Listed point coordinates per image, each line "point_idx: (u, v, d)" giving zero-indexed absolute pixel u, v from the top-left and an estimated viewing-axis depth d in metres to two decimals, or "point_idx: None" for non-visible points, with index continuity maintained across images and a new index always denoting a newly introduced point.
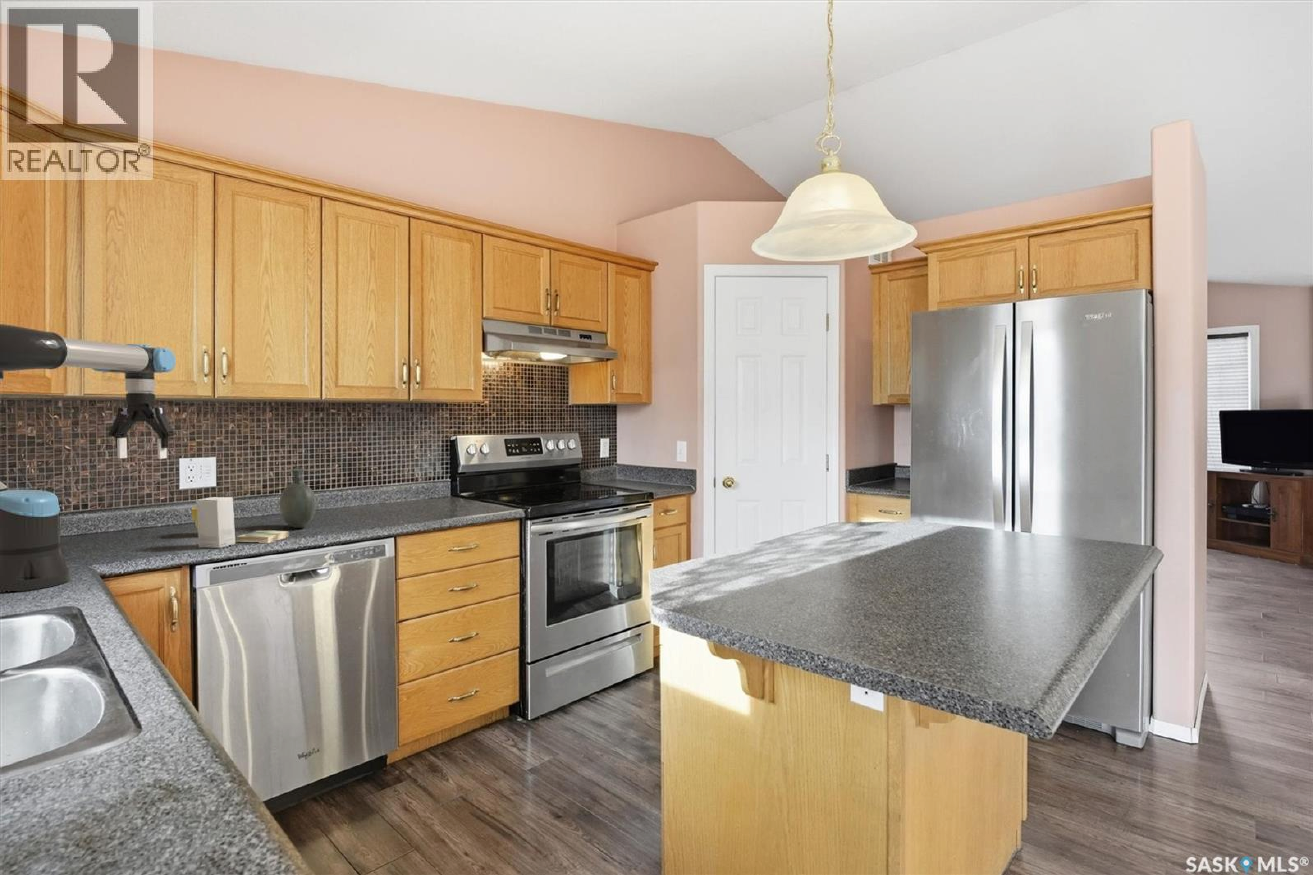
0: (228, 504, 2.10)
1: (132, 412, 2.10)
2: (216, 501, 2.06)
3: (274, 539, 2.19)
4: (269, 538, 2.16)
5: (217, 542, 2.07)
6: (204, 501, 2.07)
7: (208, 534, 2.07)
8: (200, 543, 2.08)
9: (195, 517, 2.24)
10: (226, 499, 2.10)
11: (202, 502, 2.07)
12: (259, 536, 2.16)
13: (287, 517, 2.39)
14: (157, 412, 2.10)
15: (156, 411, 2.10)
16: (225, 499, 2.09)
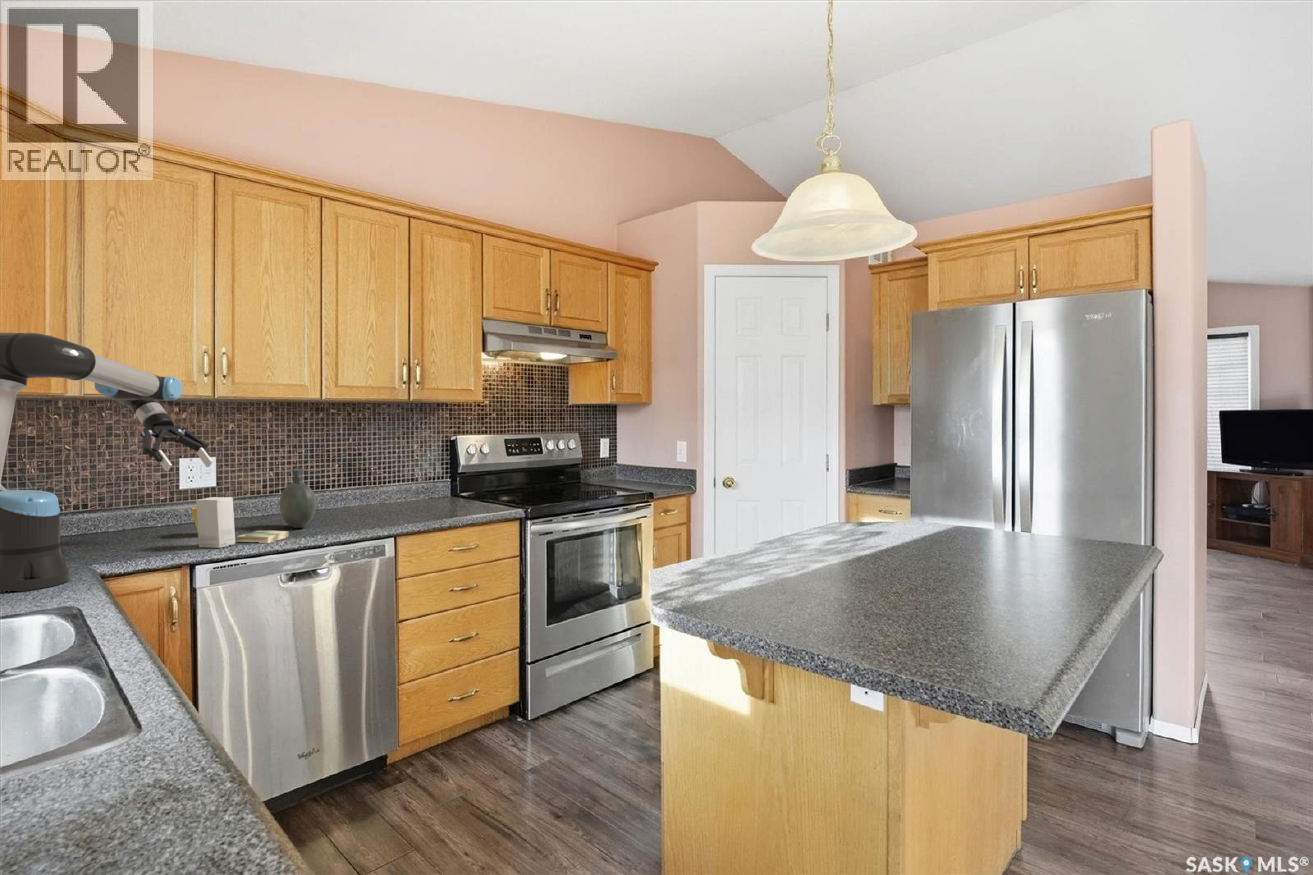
0: (228, 504, 2.10)
1: (165, 429, 2.14)
2: (216, 501, 2.06)
3: (274, 539, 2.19)
4: (269, 538, 2.16)
5: (217, 542, 2.07)
6: (204, 501, 2.07)
7: (208, 534, 2.07)
8: (200, 543, 2.08)
9: (195, 517, 2.24)
10: (226, 499, 2.10)
11: (202, 502, 2.07)
12: (259, 536, 2.16)
13: (287, 517, 2.39)
14: (187, 430, 2.21)
15: (185, 429, 2.21)
16: (225, 499, 2.09)
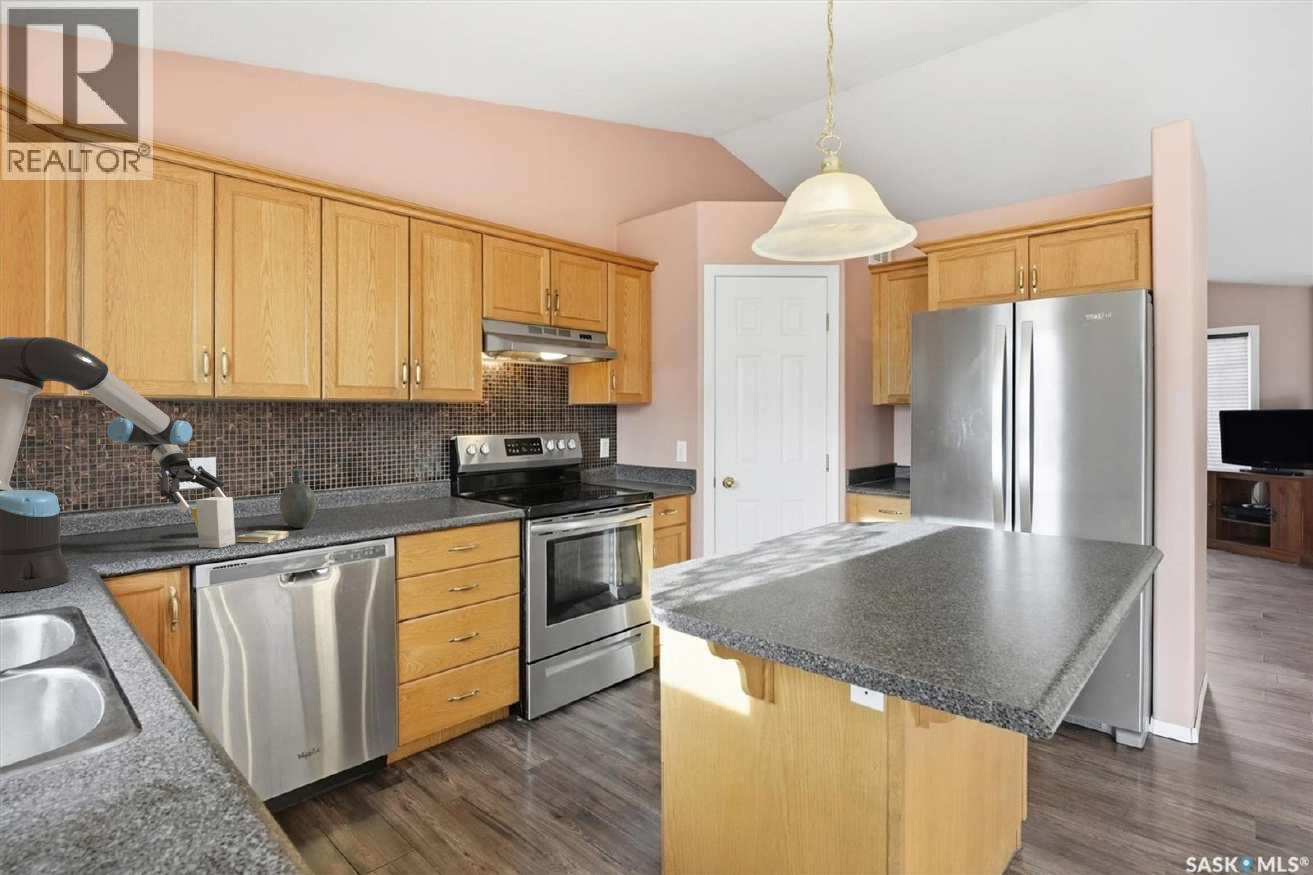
0: (228, 504, 2.10)
1: (181, 469, 2.14)
2: (216, 501, 2.06)
3: (274, 539, 2.19)
4: (269, 538, 2.16)
5: (217, 542, 2.07)
6: (204, 501, 2.07)
7: (208, 534, 2.07)
8: (200, 543, 2.08)
9: (195, 517, 2.24)
10: (226, 499, 2.10)
11: (202, 502, 2.07)
12: (259, 536, 2.16)
13: (287, 517, 2.39)
14: (203, 469, 2.21)
15: (201, 468, 2.21)
16: (224, 499, 2.09)
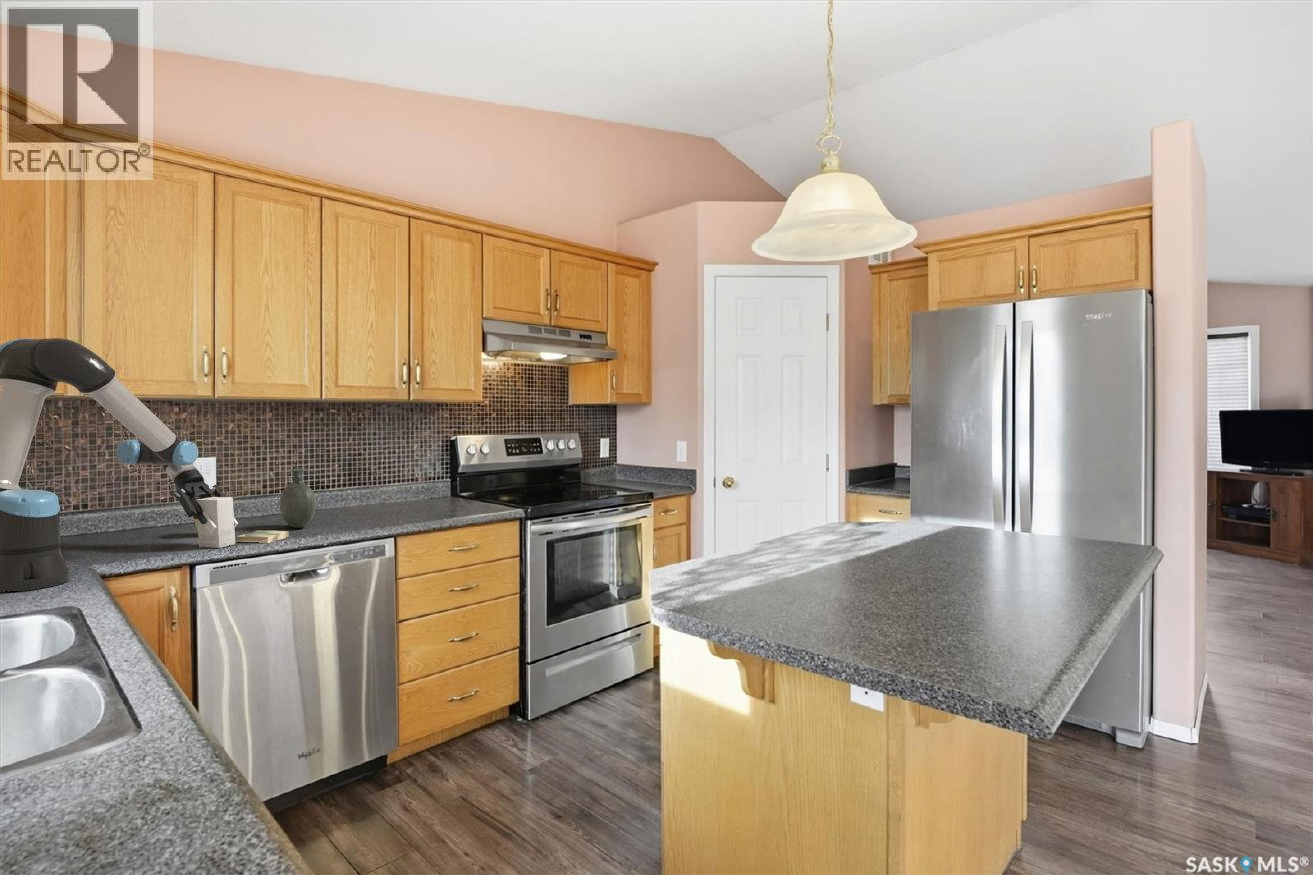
0: (228, 504, 2.10)
1: (195, 486, 2.11)
2: (216, 501, 2.06)
3: (274, 539, 2.19)
4: (269, 538, 2.16)
5: (217, 542, 2.07)
6: (204, 501, 2.07)
7: (208, 534, 2.07)
8: (200, 543, 2.08)
9: None
10: (226, 499, 2.10)
11: (202, 502, 2.07)
12: (259, 536, 2.16)
13: (287, 517, 2.39)
14: (217, 488, 2.18)
15: (216, 487, 2.18)
16: (224, 499, 2.09)
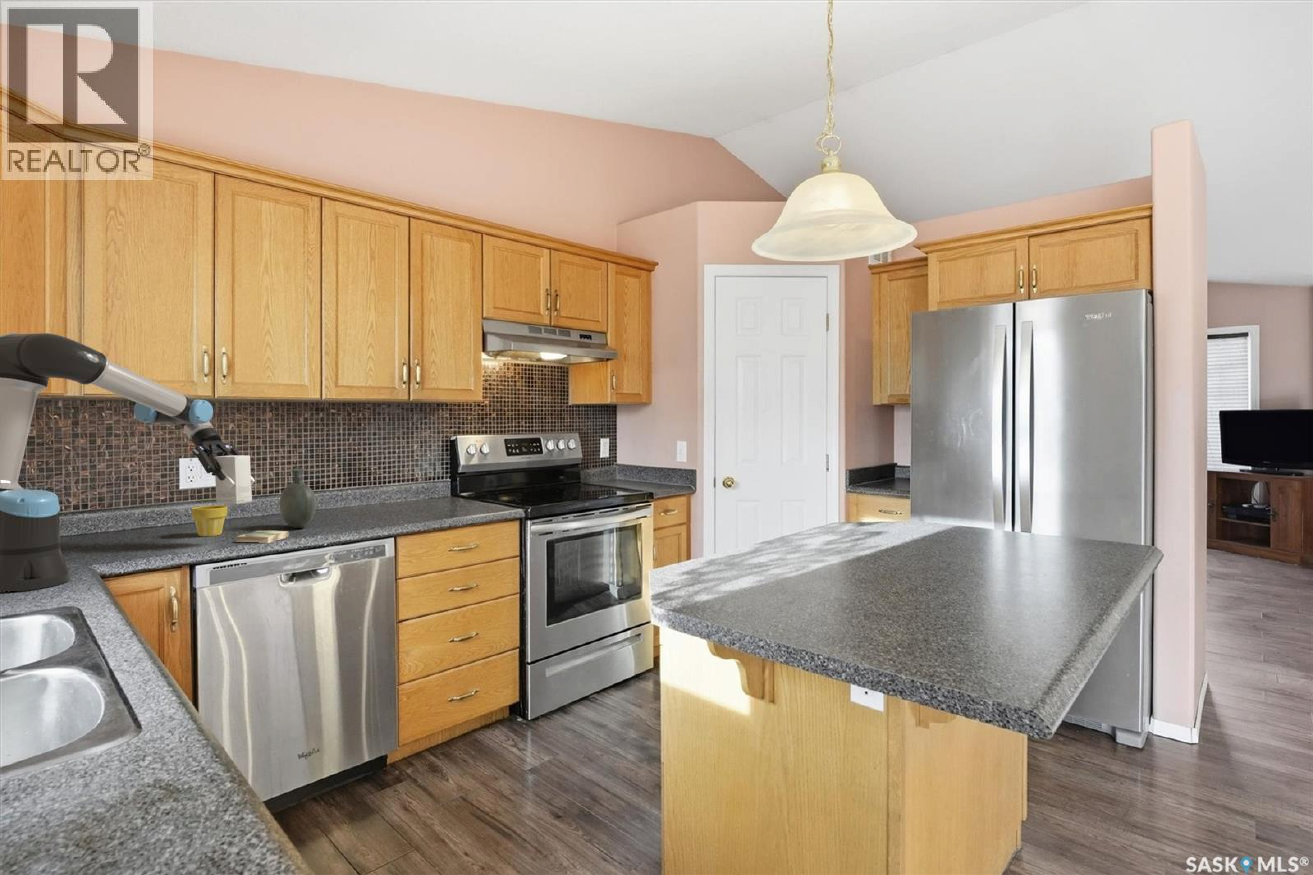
0: (245, 461, 2.14)
1: (213, 444, 2.15)
2: (234, 458, 2.10)
3: (274, 539, 2.19)
4: (269, 538, 2.16)
5: (235, 498, 2.11)
6: (222, 458, 2.11)
7: (226, 490, 2.11)
8: (218, 499, 2.12)
9: (195, 517, 2.24)
10: (243, 457, 2.14)
11: (220, 459, 2.11)
12: (259, 536, 2.16)
13: (287, 517, 2.39)
14: (234, 447, 2.22)
15: (233, 446, 2.22)
16: (242, 457, 2.13)
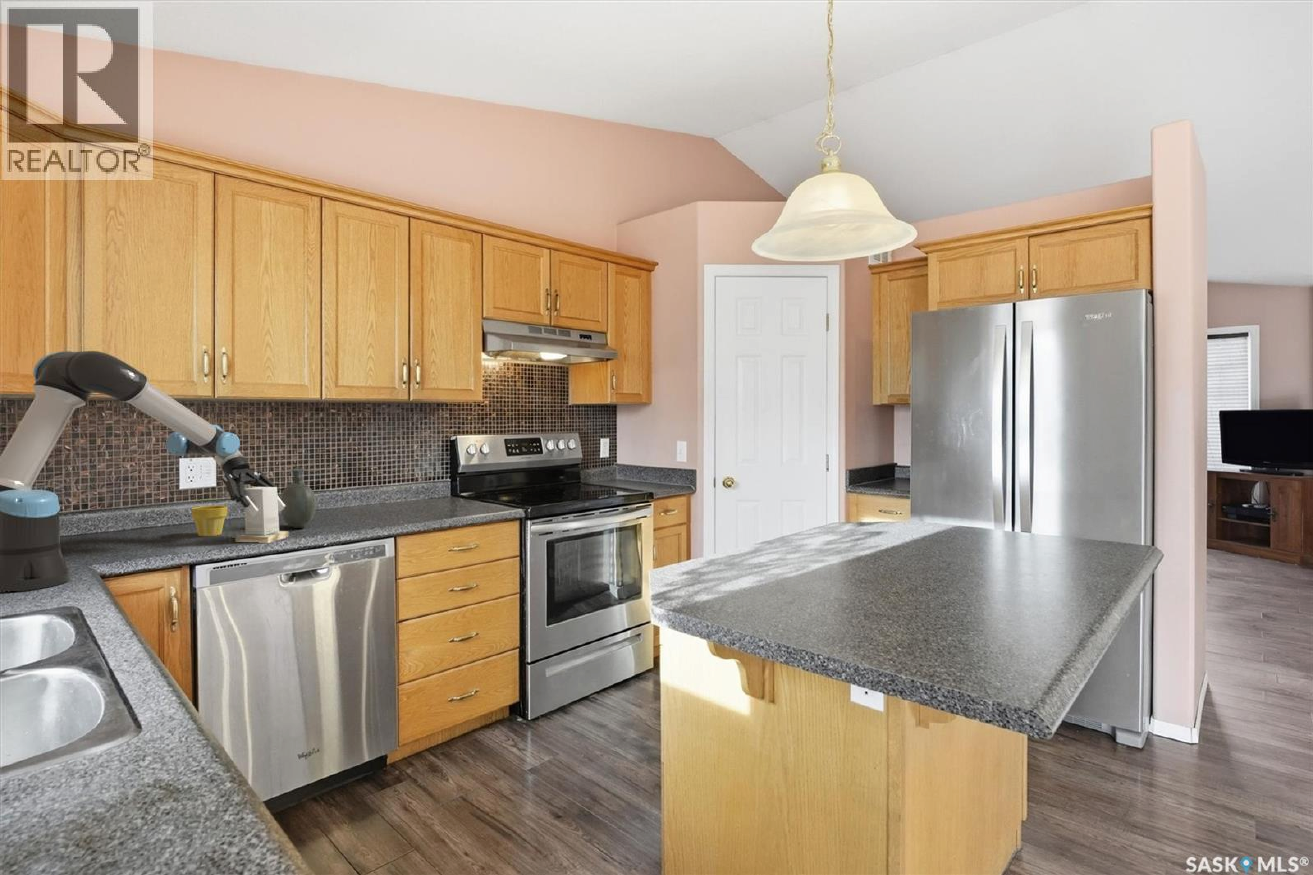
0: (272, 493, 2.20)
1: (242, 472, 2.21)
2: (261, 490, 2.16)
3: (274, 539, 2.19)
4: (269, 538, 2.16)
5: (263, 530, 2.17)
6: (250, 490, 2.17)
7: (254, 522, 2.17)
8: (247, 530, 2.19)
9: (195, 517, 2.24)
10: (271, 488, 2.20)
11: (249, 491, 2.17)
12: (259, 536, 2.16)
13: (287, 517, 2.39)
14: (262, 473, 2.28)
15: (261, 472, 2.28)
16: (269, 489, 2.19)
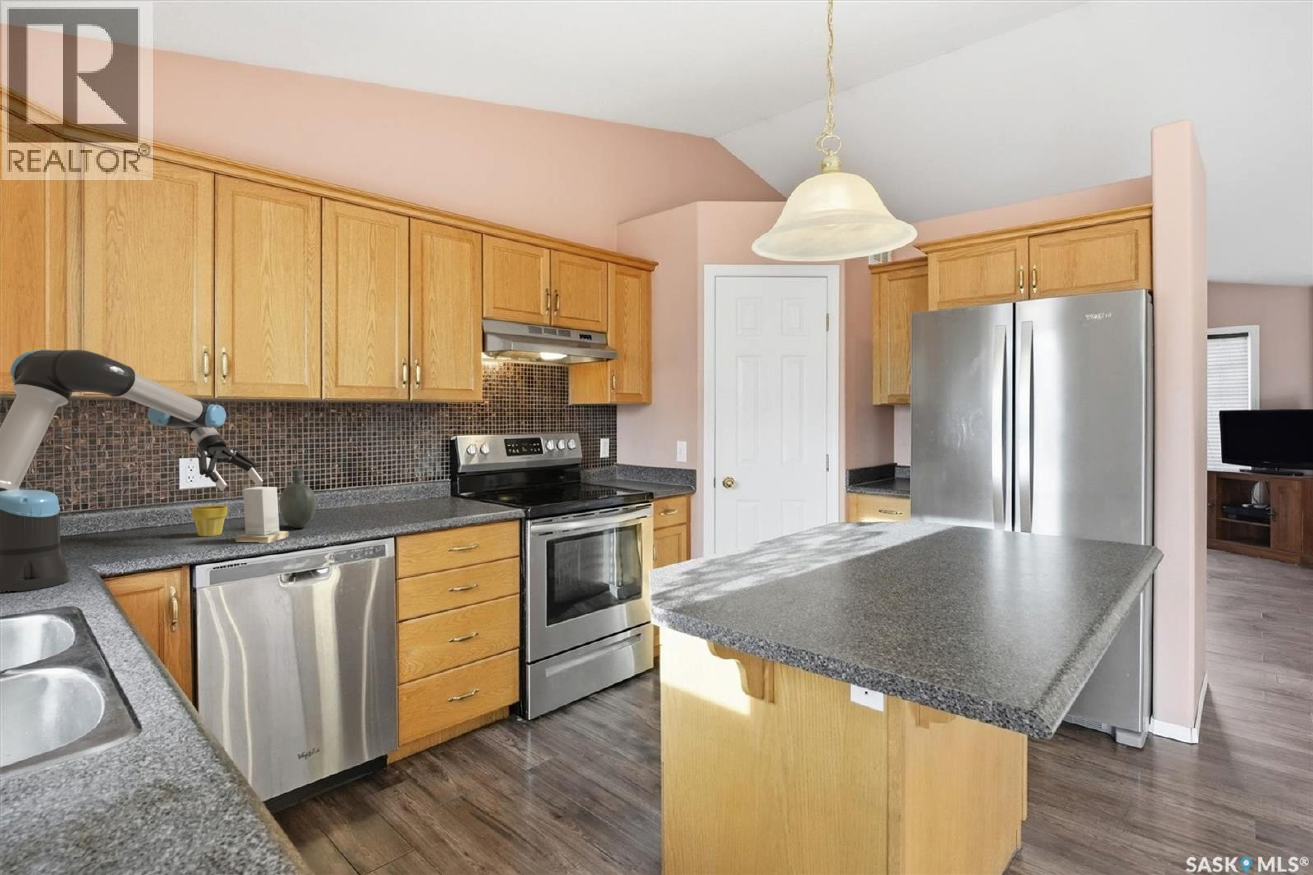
0: (272, 493, 2.20)
1: (218, 450, 2.24)
2: (261, 490, 2.16)
3: (274, 539, 2.19)
4: (269, 538, 2.16)
5: (263, 530, 2.17)
6: (250, 490, 2.17)
7: (254, 522, 2.17)
8: (247, 530, 2.19)
9: (195, 517, 2.24)
10: (271, 488, 2.19)
11: (248, 491, 2.17)
12: (259, 536, 2.16)
13: (287, 517, 2.39)
14: (238, 450, 2.32)
15: (236, 450, 2.32)
16: (269, 489, 2.19)
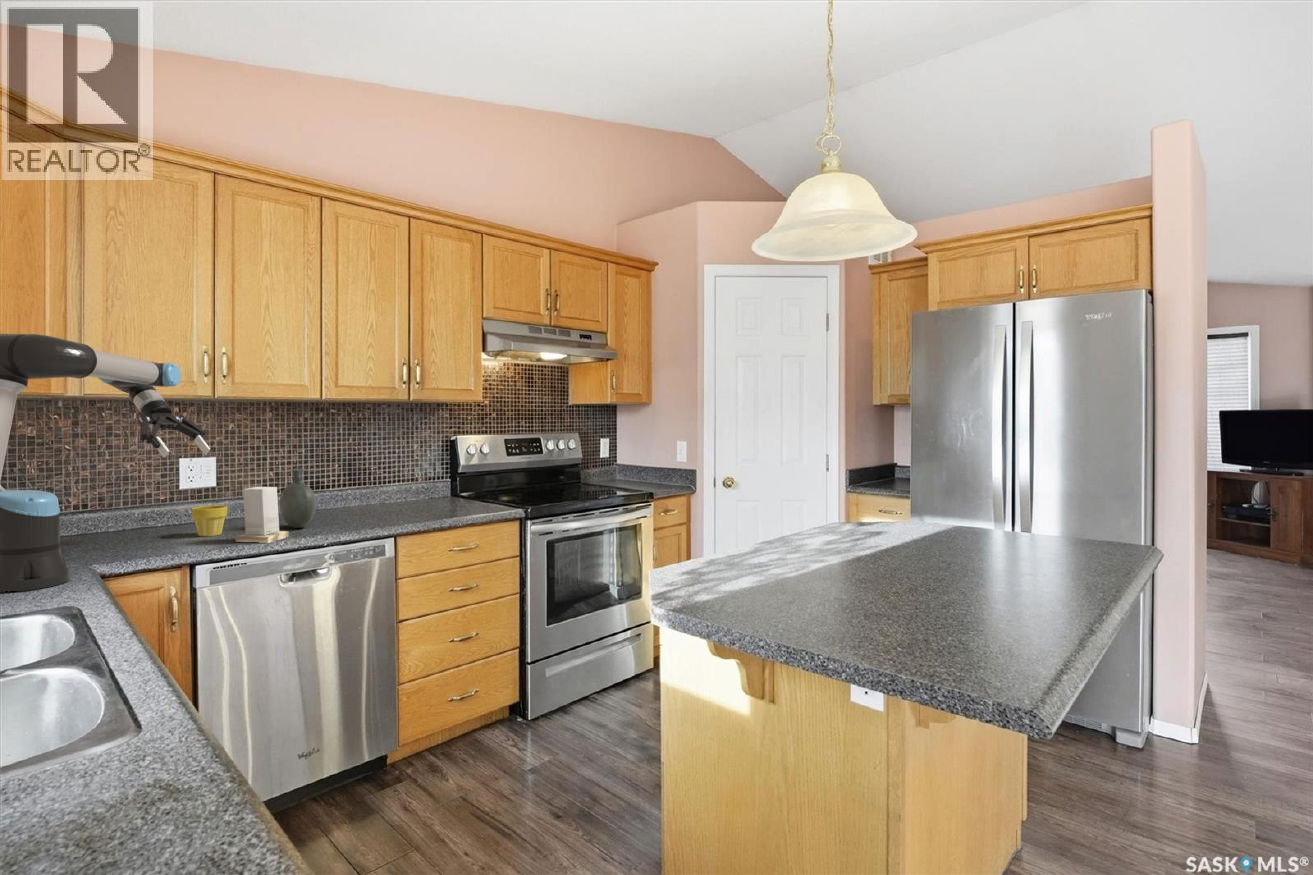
0: (272, 493, 2.20)
1: (162, 416, 2.15)
2: (261, 490, 2.16)
3: (274, 539, 2.19)
4: (269, 538, 2.16)
5: (263, 530, 2.17)
6: (250, 490, 2.17)
7: (254, 522, 2.17)
8: (247, 530, 2.19)
9: (195, 517, 2.24)
10: (271, 488, 2.19)
11: (248, 491, 2.17)
12: (259, 536, 2.16)
13: (287, 517, 2.39)
14: (184, 417, 2.22)
15: (183, 417, 2.22)
16: (269, 489, 2.19)
